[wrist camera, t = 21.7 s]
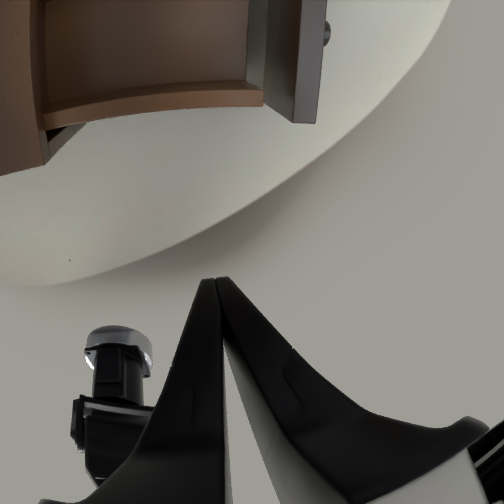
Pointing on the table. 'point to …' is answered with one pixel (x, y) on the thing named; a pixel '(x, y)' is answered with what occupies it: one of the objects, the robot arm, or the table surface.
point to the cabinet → (23, 93)
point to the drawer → (174, 57)
